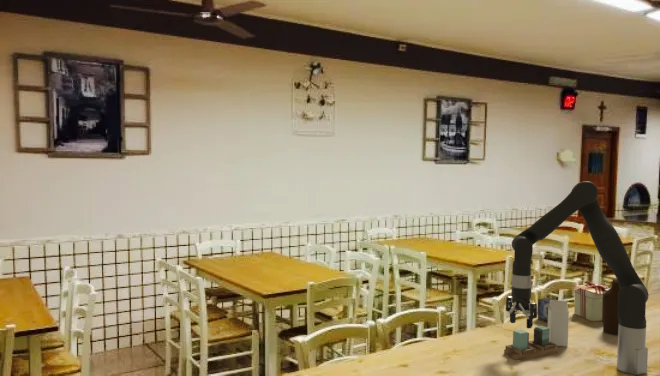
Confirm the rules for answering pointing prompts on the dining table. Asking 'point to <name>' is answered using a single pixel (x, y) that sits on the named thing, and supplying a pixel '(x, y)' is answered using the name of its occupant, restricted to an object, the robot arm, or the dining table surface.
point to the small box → (543, 308)
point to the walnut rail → (534, 346)
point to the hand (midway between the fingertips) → (520, 325)
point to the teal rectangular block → (520, 340)
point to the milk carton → (558, 322)
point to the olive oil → (611, 309)
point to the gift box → (589, 301)
